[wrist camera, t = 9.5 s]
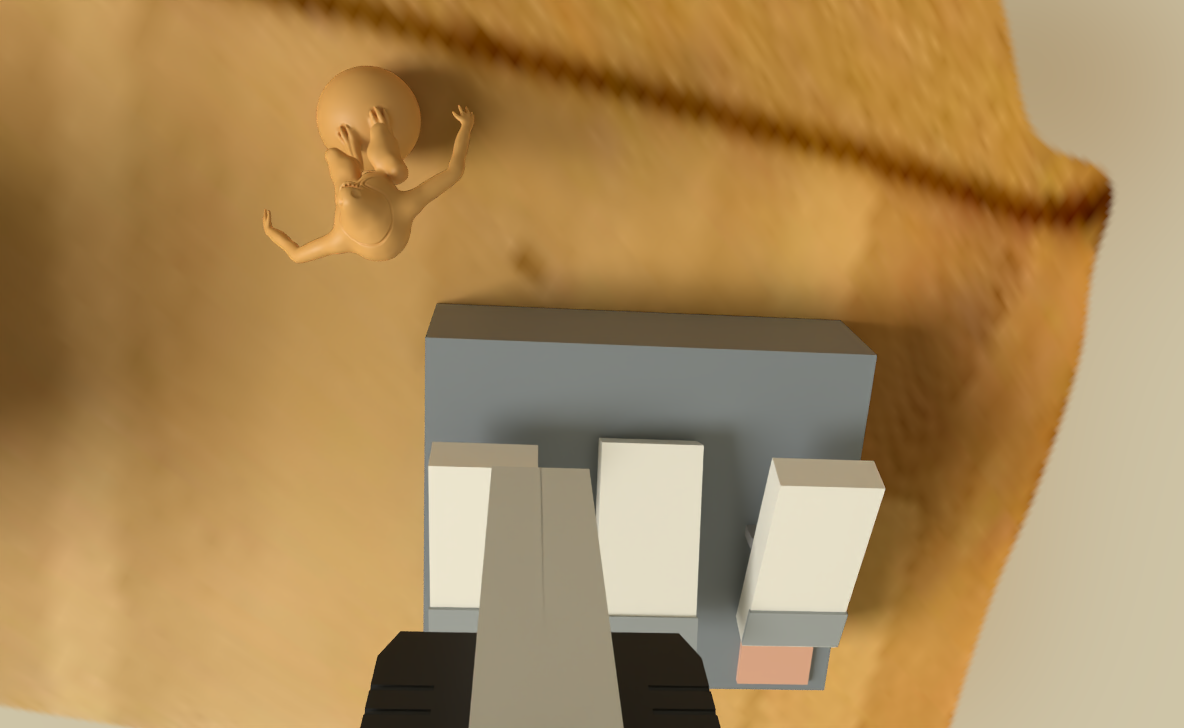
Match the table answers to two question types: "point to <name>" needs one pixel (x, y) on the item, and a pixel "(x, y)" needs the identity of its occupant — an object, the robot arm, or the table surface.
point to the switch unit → (661, 424)
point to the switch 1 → (462, 526)
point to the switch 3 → (807, 551)
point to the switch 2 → (650, 533)
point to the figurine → (372, 166)
